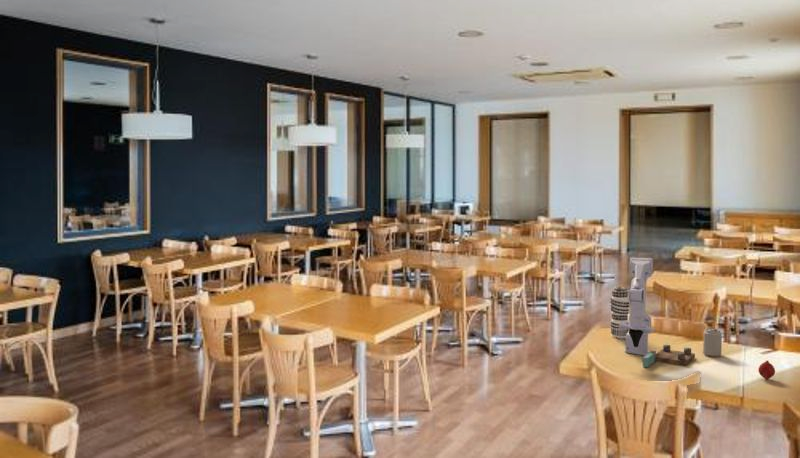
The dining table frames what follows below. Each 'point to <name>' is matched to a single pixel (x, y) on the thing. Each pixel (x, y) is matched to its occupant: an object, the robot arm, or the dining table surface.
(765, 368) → the onion
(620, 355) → the dining table surface
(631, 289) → the robot arm
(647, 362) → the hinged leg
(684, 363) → the stool seat
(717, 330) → the can
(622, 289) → the grey patterned cylinder piece
